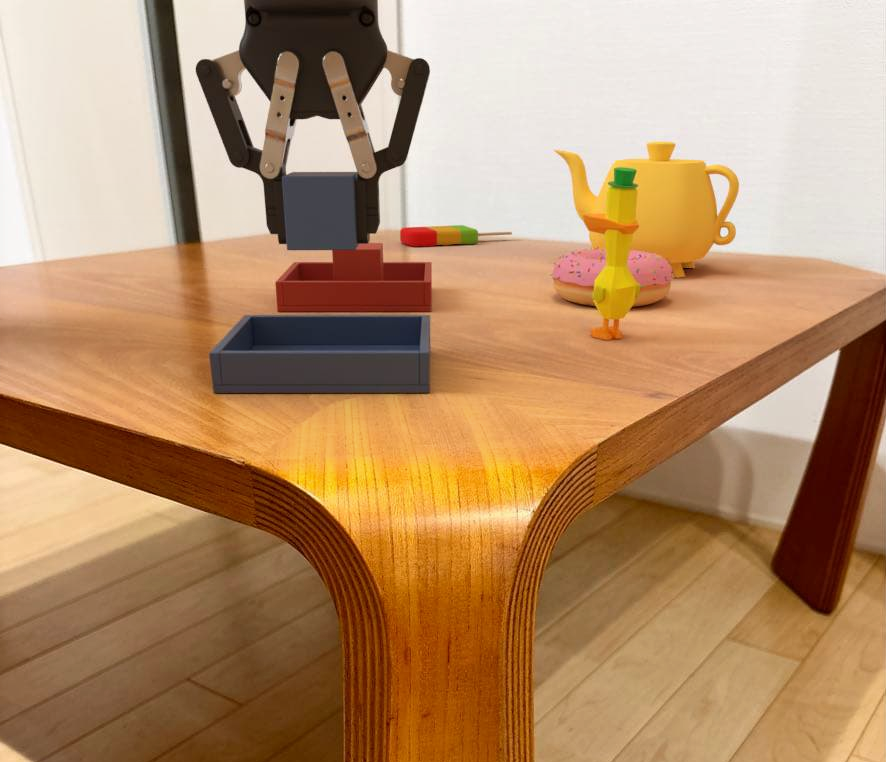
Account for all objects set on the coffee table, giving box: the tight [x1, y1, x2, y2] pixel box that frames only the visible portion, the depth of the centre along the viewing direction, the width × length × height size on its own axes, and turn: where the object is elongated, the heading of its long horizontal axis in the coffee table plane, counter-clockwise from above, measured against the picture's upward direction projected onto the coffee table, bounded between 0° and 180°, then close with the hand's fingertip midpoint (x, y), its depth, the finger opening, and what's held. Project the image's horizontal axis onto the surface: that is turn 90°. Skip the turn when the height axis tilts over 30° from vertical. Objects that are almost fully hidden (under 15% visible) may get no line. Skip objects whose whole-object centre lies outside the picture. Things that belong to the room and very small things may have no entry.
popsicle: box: [399, 224, 513, 248], centre depth 119 cm, size 6×15×2 cm, turn 110°
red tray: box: [274, 261, 433, 313], centre depth 83 cm, size 13×11×2 cm
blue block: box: [282, 171, 359, 251], centre depth 56 cm, size 4×4×4 cm
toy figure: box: [583, 167, 641, 341], centre depth 67 cm, size 7×4×12 cm, turn 27°
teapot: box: [553, 141, 740, 278], centre depth 97 cm, size 14×20×13 cm
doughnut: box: [549, 247, 675, 308], centre depth 83 cm, size 11×11×4 cm
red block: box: [331, 242, 384, 281], centre depth 82 cm, size 4×4×4 cm
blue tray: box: [208, 314, 431, 394], centre depth 60 cm, size 13×11×2 cm
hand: (324, 241), depth 57 cm, fingers closed on blue block, 4 cm apart
